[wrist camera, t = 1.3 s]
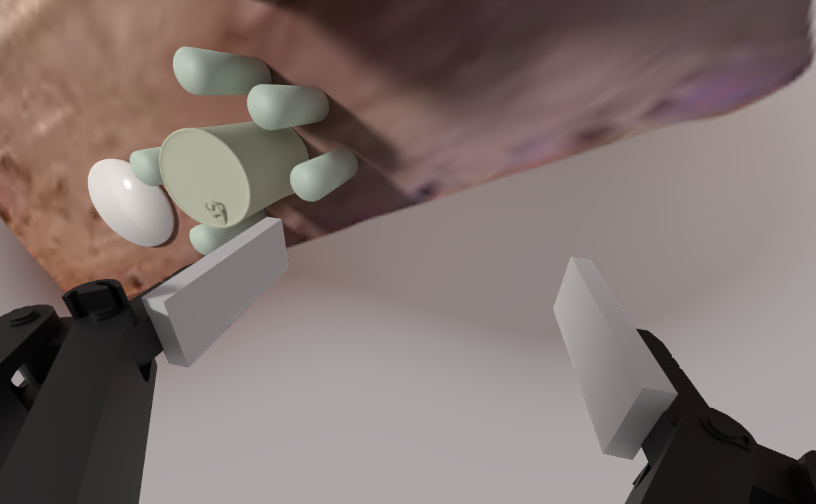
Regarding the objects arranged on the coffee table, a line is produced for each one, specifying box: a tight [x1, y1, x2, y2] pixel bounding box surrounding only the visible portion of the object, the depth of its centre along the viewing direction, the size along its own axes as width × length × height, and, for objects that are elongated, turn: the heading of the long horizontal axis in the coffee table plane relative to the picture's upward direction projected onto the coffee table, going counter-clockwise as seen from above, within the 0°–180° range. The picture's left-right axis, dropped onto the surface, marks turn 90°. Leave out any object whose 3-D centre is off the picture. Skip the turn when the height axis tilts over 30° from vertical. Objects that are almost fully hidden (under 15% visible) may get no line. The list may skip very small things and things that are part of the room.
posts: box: [130, 47, 358, 256], centre depth 35 cm, size 17×21×9 cm
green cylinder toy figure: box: [159, 121, 310, 228], centre depth 34 cm, size 9×9×12 cm
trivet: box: [88, 158, 175, 247], centre depth 46 cm, size 13×13×1 cm
